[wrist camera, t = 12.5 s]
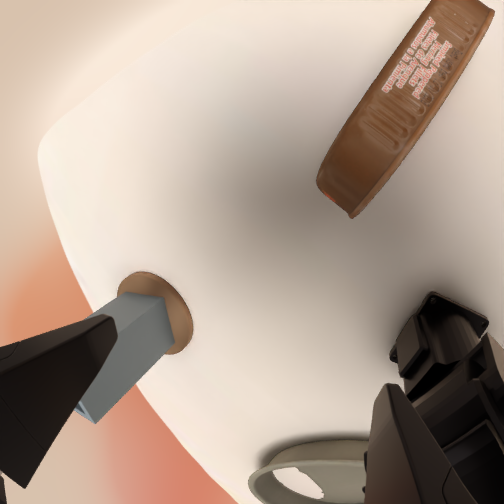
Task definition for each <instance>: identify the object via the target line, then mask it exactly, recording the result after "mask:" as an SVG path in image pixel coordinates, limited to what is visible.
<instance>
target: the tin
mask: <svg viewBox="0 0 504 504" xmlns="http://www.w3.org/2000/svg"><path fill="white" fill-rule="evenodd" d="M494 14H495V11H494V10H493V9H491V8H488V7H487V6H486V5H484V4H483V3H482V2H480V1H479V0H431V1H430V3H429V4H428V6H427V7H426V8H425V10H424V11H423V12H422V14H421V15H420V17H419V18H418V19H417V21H416V22H415V23H414V25H413V26H412V28H411V29H410V31H409V32H408V33H407V35H406V36H405V37H404V39H403V40H402V42H401V43H400V44H399V46H398V47H397V49H396V50H395V52H394V53H393V54H392V56H391V57H390V59H389V60H388V61H387V63H386V64H385V66H384V67H383V69H382V70H381V72H380V73H379V75H378V76H377V78H376V79H375V80H374V82H373V83H372V84H371V86H370V87H369V89H368V90H367V92H366V93H365V95H364V96H363V98H362V99H361V101H360V102H359V104H358V105H357V107H356V108H355V109H354V111H353V112H352V114H351V115H350V117H349V118H348V120H347V121H346V123H345V125H344V126H343V128H342V129H341V131H340V132H339V134H338V136H337V137H336V139H335V140H334V142H333V144H332V145H331V147H330V149H329V151H328V153H327V155H326V157H325V158H324V160H323V162H322V164H321V167H320V169H319V172H318V175H317V179H316V182H317V186H318V188H319V189H320V191H321V192H322V193H323V194H325V195H326V196H327V197H328V198H330V199H331V200H332V201H333V202H335V203H336V204H337V205H338V206H340V207H341V208H342V209H343V210H345V211H346V212H347V213H348V215H349V217H350V218H351V219H353V218H354V217H356V216H357V215H358V214H359V213H360V212H361V211H362V210H363V209H364V208H365V207H366V206H367V205H368V203H369V202H370V201H371V200H372V199H373V198H374V196H375V195H376V194H377V193H378V192H379V191H380V189H381V188H382V187H383V186H384V185H385V183H386V182H387V181H388V180H389V178H390V177H391V175H392V174H393V173H394V172H395V171H396V169H397V168H398V167H399V165H400V164H401V162H402V161H403V160H404V159H405V157H406V156H407V155H408V153H409V152H410V151H411V149H412V148H413V146H414V145H415V143H416V142H417V141H418V139H419V138H420V136H421V135H422V134H423V132H424V131H425V129H426V128H427V126H428V125H429V123H430V122H431V120H432V119H433V118H434V116H435V115H436V113H437V112H438V110H439V109H440V107H441V106H442V104H443V103H444V101H445V99H446V98H447V97H448V95H449V93H450V92H451V90H452V88H453V87H454V85H455V84H456V82H457V81H458V79H459V78H460V76H461V74H462V73H463V71H464V69H465V68H466V66H467V64H468V63H469V61H470V60H471V58H472V56H473V54H474V53H475V51H476V49H477V47H478V46H479V44H480V42H481V41H482V39H483V37H484V35H485V33H486V32H487V30H488V28H489V26H490V24H491V22H492V19H493V17H494Z"/></svg>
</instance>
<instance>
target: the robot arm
mask: <svg viewBox="0 0 504 504" xmlns="http://www.w3.org/2000/svg"><path fill="white" fill-rule="evenodd" d="M431 298H435V300H434V301H430V299H431ZM483 322H484V324H482V323H483ZM481 324H482V325H481ZM488 325H489V321H488V319H487V318H486V317H485V316H483V315H481V314H479V313H477V312H475V311H473V310H471V309H469V308H467V307H465V306H463V305H461V304H459V303H456V302H454V301H452V300H450V299H448V298H446V297H444V296H442V295H440V294H438V293H435V292H431V293H429V294H428V295H427V296H426V298H425V300H424V301H423V303H422V305H421V306H420V308H419V310H418V311H417V313H416V314H414V315H413V316H411V318H410V320H409V321H408V323H407V324H406V326H405V327H404V329H403V330H402V332H401V333H400V335H399V336H398V338H397V339H396V345H395V346H394V348H393V349H392V350H391V352H390V354H389V356H390V360H391V361H392V362H395V363H398V367H399V375H400V377H401V378H404V390H405V394H404V392H403V391H402V389H401V388H400V386H399V385H397V384H390V383H386V384H385V385H384V386H383V388H382V389H381V391H380V393H379V395H378V396H377V398H376V400H375V402H374V407H373V415H372V423H371V431H370V437H369V444H368V450H367V451H365V452H364V468H365V473H366V486H363V487H362V491H363V493H364V494H365V497H364V504H504V349H503V348H502V347H501V346H500V345H499V344H498V343H497V342H496V341H495V340H494V338H493V337H492V336H491V335H490V334H489V333H488V332H487V333H486V334H485V335H484V336H483V337H482V338H481V341H480V340H479V338H480V337H481V335H482V334H483V333H484V331H485V330H486V328H487V327H488ZM117 339H118V332H117V328H116V324H115V320H114V318H113V317H112V316H109V315H107V314H100V315H97V316H94V317H91V318H88V319H85V320H82V321H79V322H76V323H73V324H70V325H67V326H64V327H61V328H58V329H55V330H52V331H49V332H46V333H43V334H40V335H37V336H34V337H31V338H28V339H25V340H22V341H21V342H19V341H18V342H15V343H12V344H9V345H6V346H2V347H0V504H7V501H6V495H5V488H4V479H3V477H2V476H1V474H2V473H4V474H5V475H7V476H8V477H9V478H10V479H12V480H13V481H14V482H16V483H17V484H18V485H20V486H21V487H22V488H24V489H25V488H26V487H27V485H28V484H29V482H30V480H31V478H32V476H33V475H34V473H35V472H36V470H37V468H38V466H39V465H40V463H41V461H42V460H43V458H44V456H45V455H46V453H47V451H48V450H49V448H50V446H51V445H52V443H53V442H54V440H55V438H56V437H57V435H58V433H59V432H60V430H61V429H62V427H63V426H64V424H65V422H66V421H67V419H68V418H69V416H70V415H71V413H72V412H73V410H74V409H75V407H76V406H77V404H78V403H79V401H80V400H81V398H82V397H83V395H84V394H85V392H86V391H87V390H88V388H89V387H90V385H91V384H92V382H93V381H94V379H95V378H96V376H97V375H98V373H99V372H100V370H101V368H102V367H103V365H104V363H105V361H106V359H107V358H108V356H109V354H110V352H111V350H112V349H113V347H114V345H115V343H116V342H117ZM394 355H397V356H394Z"/></svg>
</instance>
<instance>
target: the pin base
mask: <svg viewBox="0 0 504 504" xmlns="http://www.w3.org/2000/svg"><path fill="white" fill-rule="evenodd" d="M124 292H131V293H137V294H144V295H150V296H157V297H163V298H164V300H165V304H166V308H167V313H168V317H169V321H170V324H171V328H172V332H173V336H174V340H175V343H174V344H173V346H172V347H171V348H170V349H169V350H168V351H167V352H166V353H165V354H169V355H170V354H176V353H178V352H180V351H182V350H183V349H184V348H185V347H186V346H187V344H188V343H189V342H190V340H191V337H192V333H193V324H192V318H191V315H190V312H189V310H188V308H187V306H186V304H185V302H184V300H183V299H182V297H181V296H180V295H179V293H178V292H177V291H176V290H175V289H174V288H173V287H172V286H171V285H170V284H169V283H167V282H166V281H165V280H163V279H162V278H160V277H158V276H156V275H154V274H151V273H147V272H137V273H134V274H132V275H130V276H128V277H127V278H125V279H124V280H123V281H122V282H121V284H120V286H119V288H118V292H117V297H118V296H120V295H121V294H123V293H124Z"/></svg>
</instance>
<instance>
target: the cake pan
mask: <svg viewBox="0 0 504 504" xmlns="http://www.w3.org/2000/svg"><path fill="white" fill-rule="evenodd" d="M368 444H369V441H364V440H328V441H318V442H311V443H305V444H301V445H297V446H293V447H290V448H288V449H285V450H283V451H282V452H280V453H278V454H277V455H276V456H275V457H274V458H273V459H272V460H271V462H270V463H269V464H268V465H267V466H265V467H263V468H261V469H259V470H257V471H256V472H254V473H253V474H252V475H251V476H250V477H249V480H248V486H249V489H250V491H251V492H252V494H253V495H254V496H255V497H256V498H257V499H258V500H259V501H261V502H262V503H263V504H364V497H365V494H364V493H363V491H362V487H363V486H366V473H365V468H364V452H365V451H367V450H368ZM289 467H296V468H298V470H299V471H300V472H302V473H304V474H307V475H308V476H309V477H310V478H311V479H312V480H313V481H314V482H315V483H316V484H317V485H318V486H319V487H320V488H321V489H322V490H323V492H321V493H324V498H321V499H314V498H310V497H307V496H304V495H301V494H299V493H296V492H294V491H292V490H291V489H289V488H287V487H286V486H284V485H283V484H282V483H280V482H279V481H278V480H277V479H276V477H275V476H274V474H273V472H272V471H273V470H277V469H282V468H289Z"/></svg>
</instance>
